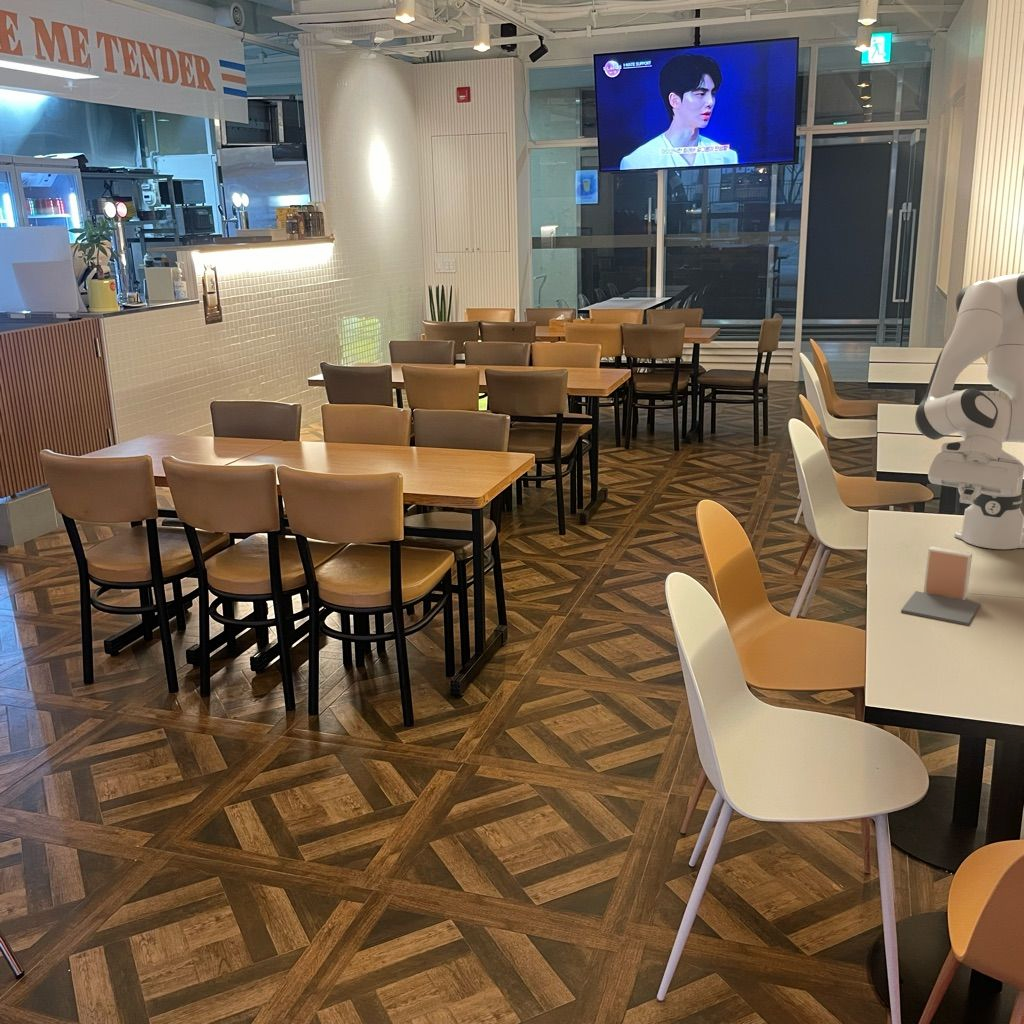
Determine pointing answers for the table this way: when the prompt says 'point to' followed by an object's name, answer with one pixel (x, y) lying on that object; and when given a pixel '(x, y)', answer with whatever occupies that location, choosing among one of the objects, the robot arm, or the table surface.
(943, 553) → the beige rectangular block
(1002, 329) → the robot arm
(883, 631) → the table surface
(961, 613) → the charcoal mat
